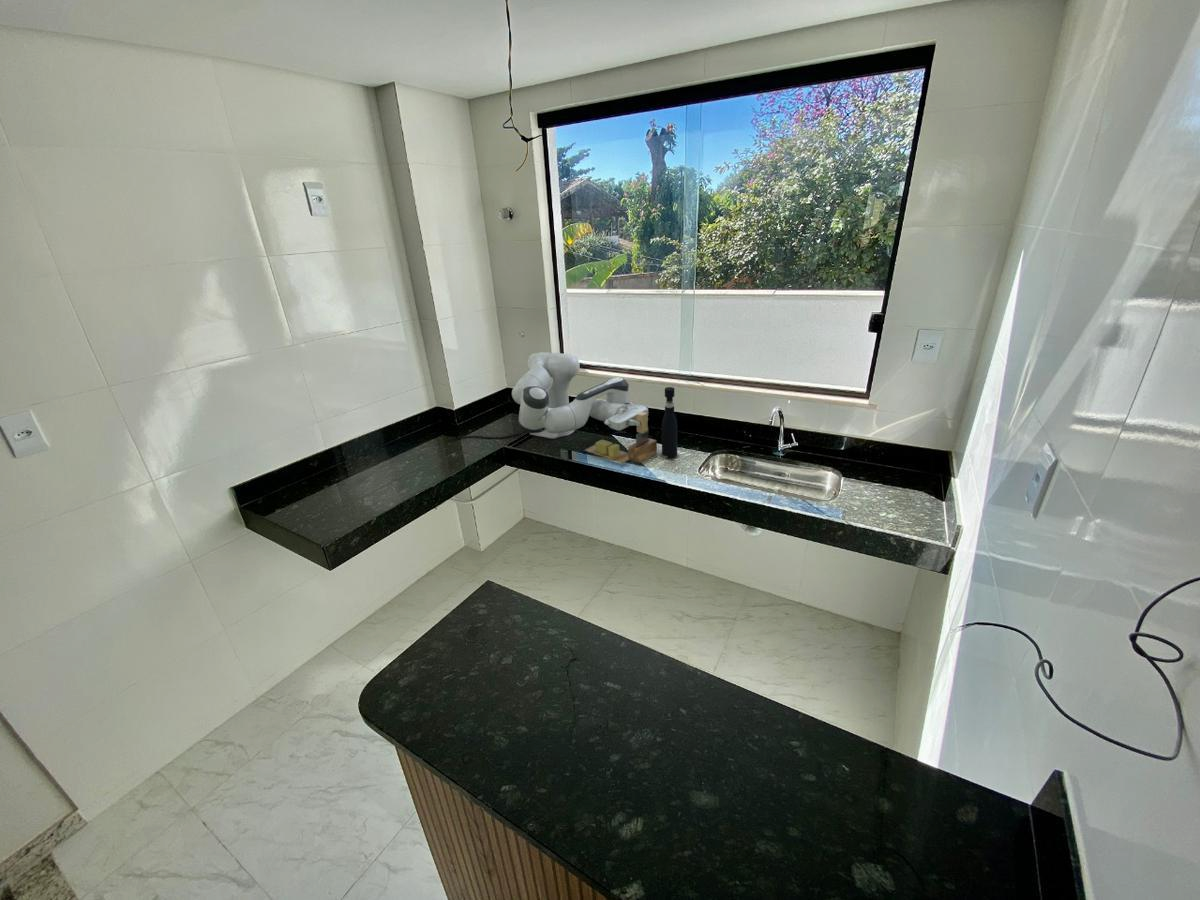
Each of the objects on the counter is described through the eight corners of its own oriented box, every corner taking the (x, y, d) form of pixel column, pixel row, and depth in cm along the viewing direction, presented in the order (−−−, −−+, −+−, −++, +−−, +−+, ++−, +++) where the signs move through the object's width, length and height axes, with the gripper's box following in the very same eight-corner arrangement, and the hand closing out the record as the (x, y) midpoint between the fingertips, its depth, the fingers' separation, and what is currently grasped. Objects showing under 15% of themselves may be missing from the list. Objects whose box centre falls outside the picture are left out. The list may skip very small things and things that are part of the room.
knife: (633, 451, 203) (632, 415, 196) (645, 444, 208) (644, 409, 201) (639, 453, 201) (638, 417, 194) (651, 446, 206) (650, 411, 199)
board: (584, 452, 215) (584, 450, 215) (597, 445, 221) (597, 442, 220) (622, 465, 201) (622, 463, 201) (635, 457, 207) (635, 455, 207)
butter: (595, 451, 213) (595, 442, 211) (602, 447, 216) (602, 439, 214) (605, 454, 209) (605, 446, 207) (612, 450, 212) (612, 442, 210)
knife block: (628, 461, 204) (627, 446, 201) (645, 451, 212) (645, 437, 209) (639, 465, 201) (639, 450, 197) (656, 455, 208) (656, 440, 205)
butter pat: (608, 455, 208) (608, 447, 206) (615, 451, 211) (615, 443, 209) (613, 457, 207) (612, 448, 205) (619, 453, 209) (619, 444, 208)
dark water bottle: (659, 454, 208) (658, 388, 195) (671, 450, 211) (671, 384, 198) (667, 460, 203) (667, 392, 190) (680, 456, 206) (680, 389, 192)
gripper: (601, 415, 199) (627, 422, 190) (632, 400, 212) (658, 407, 203) (602, 429, 202) (628, 437, 193) (632, 414, 215) (658, 420, 206)
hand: (643, 421), depth 198 cm, fingers closed on knife, 3 cm apart
